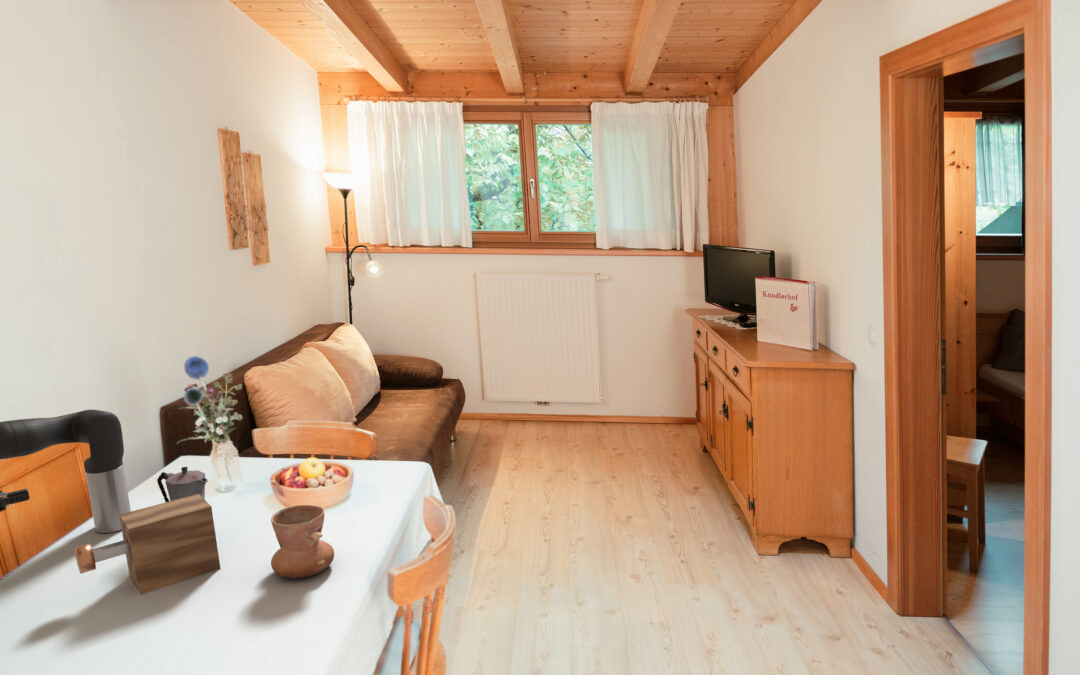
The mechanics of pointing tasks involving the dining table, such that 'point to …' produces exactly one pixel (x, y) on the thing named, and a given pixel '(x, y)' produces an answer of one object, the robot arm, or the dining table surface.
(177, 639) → the dining table surface
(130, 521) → the press housing
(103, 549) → the plunger
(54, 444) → the robot arm
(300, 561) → the ceramic jug
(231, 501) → the dining table surface
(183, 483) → the moka pot
